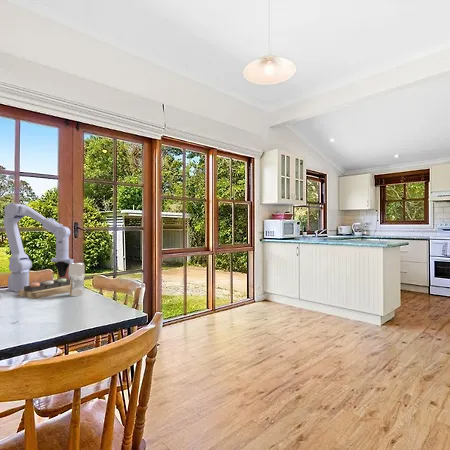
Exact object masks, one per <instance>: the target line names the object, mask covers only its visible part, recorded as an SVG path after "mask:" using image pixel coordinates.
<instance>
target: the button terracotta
mask: <svg viewBox="0 0 450 450" xmlns="http://www.w3.org/2000/svg"><path fill="white" fill-rule="evenodd" d="M40 284H41V282H31V283H29V286H30V287H38V286H40Z"/></svg>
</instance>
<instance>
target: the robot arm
mask: <svg viewBox="0 0 450 450" xmlns="http://www.w3.org/2000/svg"><path fill="white" fill-rule="evenodd" d="M3 211H4V217H3V220H2V221H3V226H4V230H5V232H6V233H5V234H6V238H7V242H8V246H9V249H10V254H11V256H10V257H9V259H8V260H9V261H8V262H9V265H8V268H9V271H10V272H11V273H10V274H9V275H8V277H7V278H8V279H7V289H6V291H9V292H15V293H18V290H21V289H24V286H30V270H31V268H32V267H33V262H32V260H31V259H30V257H29V255H28V254H27V253H26V252H25V250H24V249H25V248H24V246H23V242H22V237H21V234H20V230H19V226H18V222H19V221H21V220H22V219H24V218H25V217H30V218H31V219H32V220H35V221H37V222H38V223H40V224H41V225H42V228H43V229H45V230H47V231H49V232H50V233H52V234H53V235H54V237H55V238H56V239H55V257H51V260H50V261H51V263H54V266H55V268H56V270H57V272H58V277H59V278H65V277H66V274H67V271H68V269H69V264H70V263H75V262H74V259H73V258H71V257H70V256H69V253H70V252H69V251H70V248H69V247H70V245H69V244H70V240H69V238H70V236H71V234H72V232H71V229H70V228H69V227H68V226H64V224H62V223H59V222H58V221H56V219H55V218H51V217H48V218H46V216H43V215H42V214H40V213H39V212H37V211H36V210H35V209H33V208H32V207H30V206H28V205H27V204H24V203H15V202H10V203H8V204H7V205H6V206H5V207H4V209H3Z"/></svg>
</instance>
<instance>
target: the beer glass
mask: <svg viewBox="0 0 450 450" xmlns="http://www.w3.org/2000/svg"><path fill="white" fill-rule="evenodd" d="M85 269H86V268H85V262H74V263H70V264H69V266H68V281H69V282H70V292H69V295H68V296H69V297H79V296H83V295H84V291H83V290H84V286H83V284H84V281H85V280H84V279H85V275H86V274H85V272H86V270H85Z"/></svg>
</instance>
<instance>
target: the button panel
mask: <svg viewBox="0 0 450 450" xmlns="http://www.w3.org/2000/svg"><path fill="white" fill-rule="evenodd" d="M53 281H54V280H53ZM66 293H70V282H69V279H68V280H67V279H66V282H58V280H56V281H54V284H49V285H45V284H44V283H43V282H42V283H40V286H38V287H30V285H29V286H24V289H21V290H18V292H17V296H20V297H25V298H30V299H41V298H46V297H51V296H56V295H61V294H66Z"/></svg>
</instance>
